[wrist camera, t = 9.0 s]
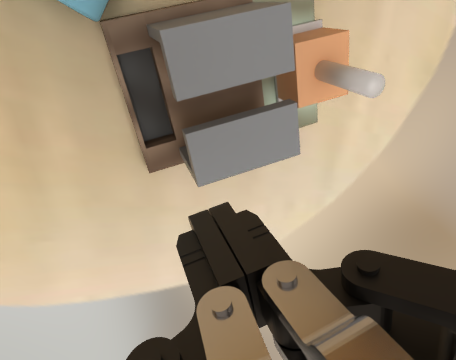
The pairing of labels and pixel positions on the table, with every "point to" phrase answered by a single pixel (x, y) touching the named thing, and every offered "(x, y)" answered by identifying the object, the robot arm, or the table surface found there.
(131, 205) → the table surface
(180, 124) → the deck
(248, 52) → the tunnel
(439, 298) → the robot arm
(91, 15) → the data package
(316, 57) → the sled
